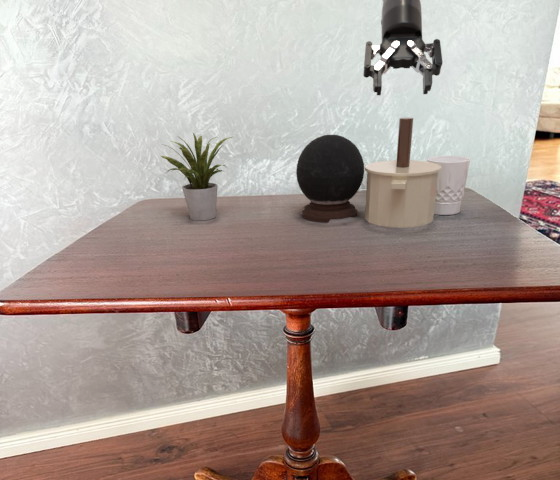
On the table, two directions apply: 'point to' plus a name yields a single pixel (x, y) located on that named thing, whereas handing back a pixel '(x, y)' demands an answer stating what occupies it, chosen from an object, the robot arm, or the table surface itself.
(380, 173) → the lid
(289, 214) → the table surface
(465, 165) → the white cup
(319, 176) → the black ball on stand
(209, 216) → the house plant
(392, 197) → the pot
